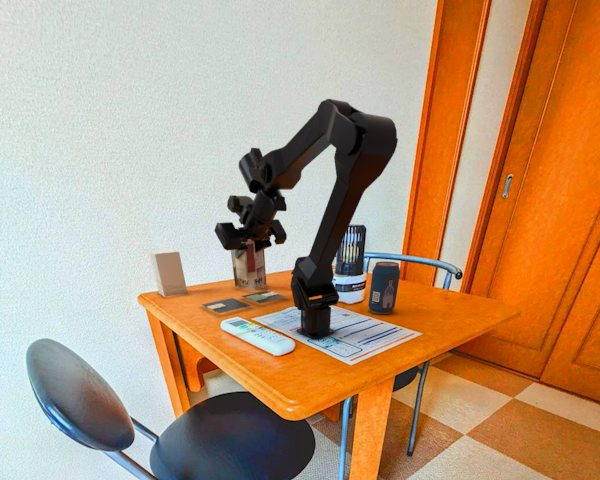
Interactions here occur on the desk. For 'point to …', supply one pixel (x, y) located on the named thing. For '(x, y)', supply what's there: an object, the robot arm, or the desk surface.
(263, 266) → the coffee box
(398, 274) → the soda can
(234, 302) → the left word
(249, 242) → the beige and red box
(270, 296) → the grey flat square block
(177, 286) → the white packaging box
